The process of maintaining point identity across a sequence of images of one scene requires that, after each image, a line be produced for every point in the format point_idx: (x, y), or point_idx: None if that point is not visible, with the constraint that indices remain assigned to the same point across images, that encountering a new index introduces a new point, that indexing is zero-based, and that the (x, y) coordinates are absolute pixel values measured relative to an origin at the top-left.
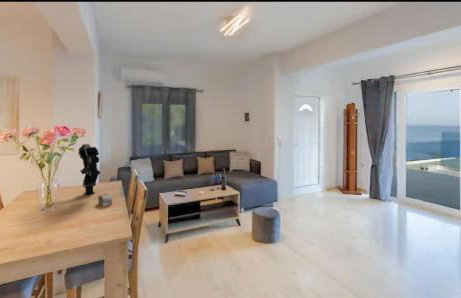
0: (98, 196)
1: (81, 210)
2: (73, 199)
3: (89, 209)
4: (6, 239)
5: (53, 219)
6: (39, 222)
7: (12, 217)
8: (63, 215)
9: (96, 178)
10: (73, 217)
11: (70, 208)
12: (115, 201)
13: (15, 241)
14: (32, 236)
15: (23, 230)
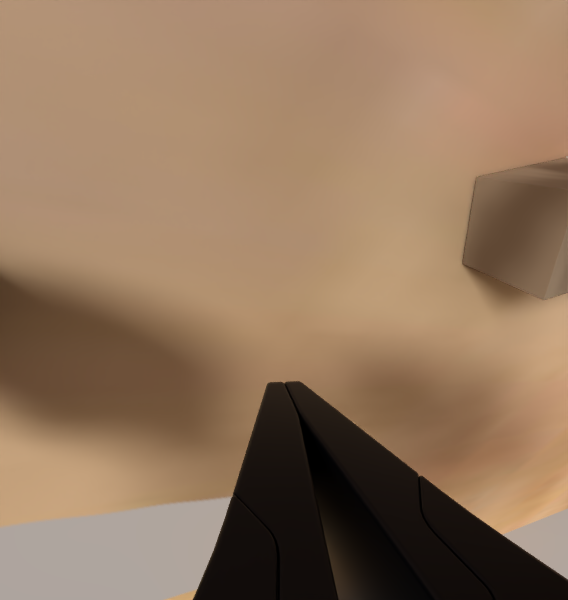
0: (536, 293)
1: (488, 377)
2: (158, 442)
3: (514, 337)
4: (523, 524)
5: (490, 467)
6: (476, 498)
7: None
8: (480, 444)
9: (442, 517)
10: (542, 405)
11: (401, 431)
12: (539, 81)
13: (554, 504)
14: (564, 482)
15: (501, 514)
